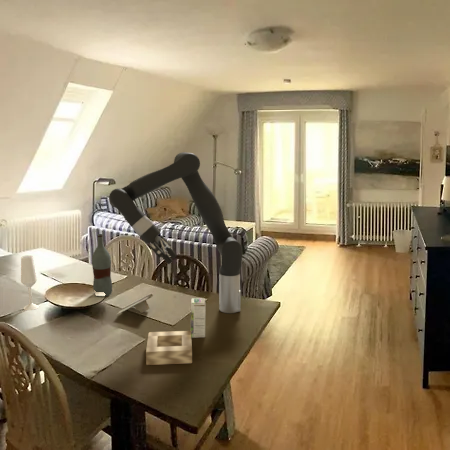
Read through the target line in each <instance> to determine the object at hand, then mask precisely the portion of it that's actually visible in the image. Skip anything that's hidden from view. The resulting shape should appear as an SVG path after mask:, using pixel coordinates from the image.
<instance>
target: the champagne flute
mask: <svg viewBox="0 0 450 450" xmlns="http://www.w3.org/2000/svg"><path fill="white" fill-rule="evenodd" d="M20 266H21V267H20V283H21V284H22V286H25V287H26V288H28V290H27V291H28V300H29V301H28V302H29V303H28V304H26V305H25V306H24V307H23V310H25V311H33V310H36V309H38V308H39V307H40V306H39V305H38V304H35V303H33V295H32V294H33V293H32V287H33V286H34V285H35V284H36V283H37V280H38V279H37V278H38V277H37V272H36V267H35V263H34V257H33V255H22V256H21V257H20Z"/></svg>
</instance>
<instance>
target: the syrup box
mask: <svg viewBox="0 0 450 450" xmlns="http://www.w3.org/2000/svg"><path fill="white" fill-rule="evenodd" d="M190 300H191V301H190V302H191V304H190V331H191V339H195V338H196V339H197V338H206V298H202V297H197V298H195V297H194V298H193V297H192V298H191V299H190Z"/></svg>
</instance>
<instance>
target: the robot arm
mask: <svg viewBox="0 0 450 450" xmlns="http://www.w3.org/2000/svg"><path fill="white" fill-rule="evenodd" d="M200 166H201V161H200V158H199V157H198V156H197V155H196V154H195V153H192V152H187V151H186V152H185V151H183V152H179V153H177V154H176V155H175V157H174V159H173V163H171V164H169V165H167V166H165V167H163V168H161V169H158V170H155V171H152V172H150V173H147V174H144V175H143V176H140V177H139V178H136V179H135V180H133V181H131V182H130V183H129V184H128V185H126V186H124V187H121V188H114V189H112V191H110V193H109V196H108V201H109V204H110V205H111V207H112V208H115V209H117V211H118V212H120V213H121V215H122V217H123V219H124V220H125V221H126V222H127V224H129V226H131V228H132V229H133V231H134V232H135V233H136V234H137V236H139V238H140V239H141V240H142V241H143V243H145V244H146V245H148V244H150V245H149V248H150V249H151V250H152V252H154V254H155V255H156V256H157V257H158V258H159V259H163V260H164V261H165V262H166V264H168V265H170V264H172V263H173V259H175V258H176V257H178V254H177V253H176V252H175V251H174V250H173V248H172V245H171V243H170V242H169V241H168V240H167V239H166V237H164V235H160V234H161V230H160V229H159V228H158V227H157V226H156V225H155V223H153V221H152V220H151V219H150V218H149V217H147V215H146V214H145V213H144V212H143V211H142V210H141V208H139V207H138V206H137V205H136V203H135V200H137V199H140V198H141V197H144V196H145V195H148V194H149V193H151V192H153V191H155V190H157V189H159V188H161V187H163V186H165V185H167V184H168V183H171V182H173V181H174V182H175V180H179V179H181V180H182V181H183V183H184V184H185V186H186V188H187V190H188V192H189V195H190V197H191V199H192V201H193V203H194V206H195V207H196V209H197V211H198V214H199V216H200V217H201V218H202V221H203V222H204V224H205V225H206V227H207V228H208V230H209V231H210V233H211V236H212V238H213V240H214V242H215V243H214V244H215V246H216V248H217V250H218V253H219V254H220V255H221V265H220V266H219V268H218V269H219V273H218V274H219V276H218V279H219V281H218V284H219V287H218V288H219V292H218V293H219V299H218V300H219V301H218V302H219V304H218V308H219V311H220V312H222V313H224V314H235V313H238V312H241V269H242V265H243V262H242V261H243V247H242V244H241V242H239V241H238V240H237V239H235V238H234V236H233V235H232V233H230V231H229V229H228V227H227V226H226V224H225V219H224V214H223V210H222V208H221V206H220V203H219V201H218V199H217V198H216V196H215V195H214V193H213V191H212V190H211V189H210V188H209V186H208V185H207V183H205V181H204V180H203V179H202V177H201V175H200V173H199V169H200Z"/></svg>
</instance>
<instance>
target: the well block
mask: <svg viewBox="0 0 450 450" xmlns="http://www.w3.org/2000/svg"><path fill="white" fill-rule="evenodd" d="M147 335H148V336H147V342H146V343H147V344H146V349H145V350H146V351H145V357H146V358H145V362H146V366H150V365H151V366H152V365H153V366H154V365H175V364H176V365H177V364H181V365H182V364H192V363H193V346H192V341H193V340H192V338H191V330H176V331H175V330H174V331H150V332H148V334H147Z"/></svg>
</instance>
